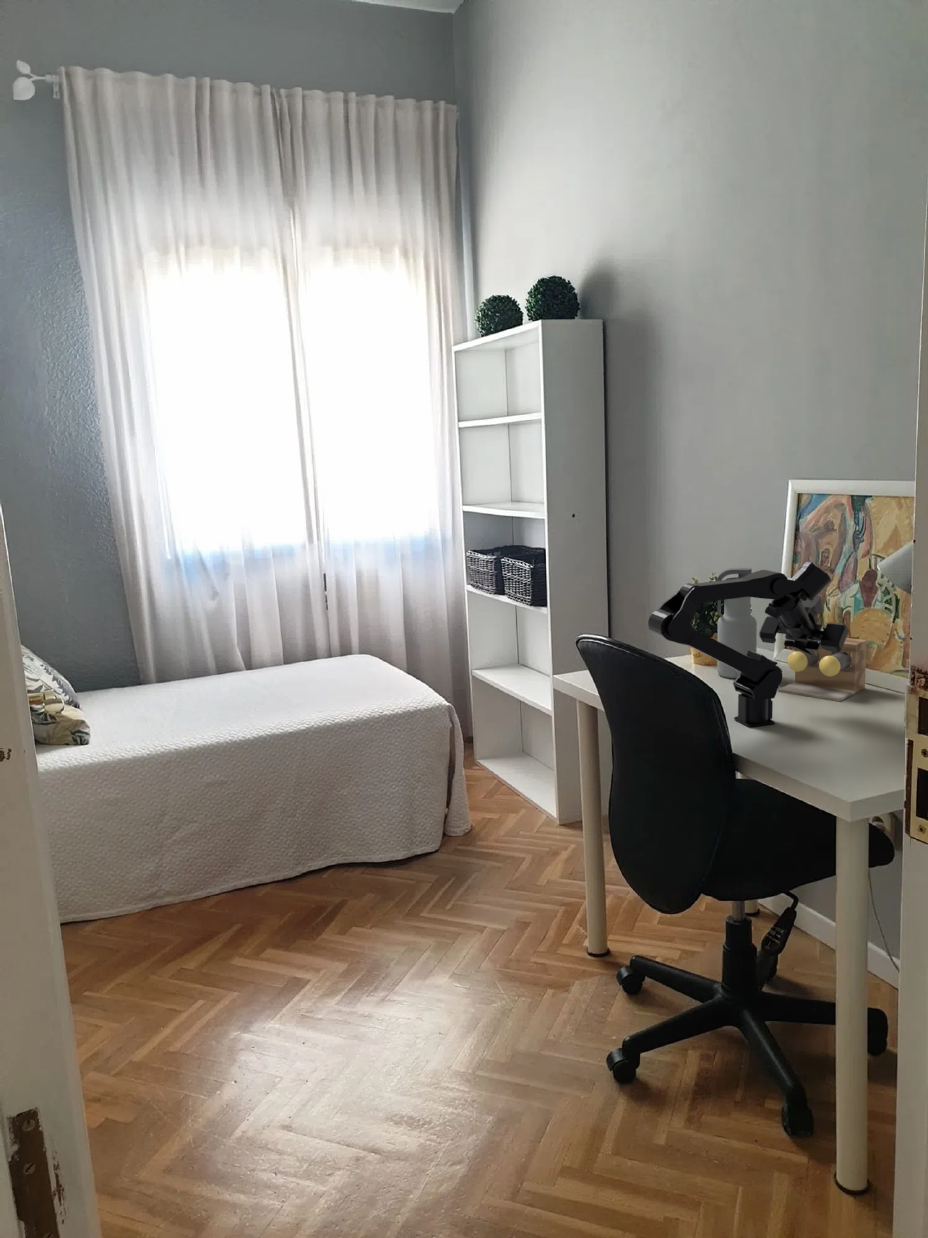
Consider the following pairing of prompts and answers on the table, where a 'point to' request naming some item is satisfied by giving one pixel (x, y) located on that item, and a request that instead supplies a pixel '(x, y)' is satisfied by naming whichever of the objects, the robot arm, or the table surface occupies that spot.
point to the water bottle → (736, 624)
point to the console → (832, 686)
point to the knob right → (835, 663)
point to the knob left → (801, 660)
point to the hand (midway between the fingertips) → (813, 653)
